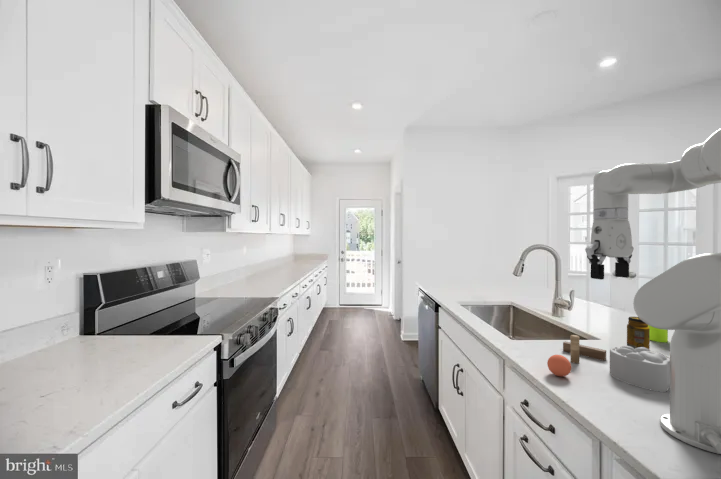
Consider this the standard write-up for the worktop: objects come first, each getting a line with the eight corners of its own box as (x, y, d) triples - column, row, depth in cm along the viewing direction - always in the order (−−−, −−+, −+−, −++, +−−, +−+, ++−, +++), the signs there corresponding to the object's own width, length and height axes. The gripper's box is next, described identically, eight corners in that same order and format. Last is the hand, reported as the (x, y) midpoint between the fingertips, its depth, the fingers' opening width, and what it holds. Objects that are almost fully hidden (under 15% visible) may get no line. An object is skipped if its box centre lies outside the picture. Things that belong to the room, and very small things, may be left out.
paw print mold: (664, 394, 81) (664, 361, 81) (603, 376, 92) (603, 346, 91) (674, 383, 87) (674, 352, 87) (616, 367, 97) (616, 340, 97)
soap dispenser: (642, 339, 124) (642, 289, 124) (651, 336, 127) (651, 287, 127) (661, 343, 119) (661, 291, 118) (670, 341, 121) (670, 289, 121)
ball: (573, 381, 88) (573, 360, 88) (548, 377, 90) (548, 357, 90) (569, 373, 93) (569, 353, 93) (546, 369, 96) (546, 350, 96)
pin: (580, 364, 100) (580, 337, 100) (571, 362, 101) (571, 336, 101) (578, 361, 102) (578, 335, 102) (569, 360, 103) (569, 334, 103)
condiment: (654, 352, 110) (654, 318, 110) (646, 358, 105) (646, 322, 105) (627, 346, 116) (627, 314, 116) (619, 351, 111) (619, 317, 111)
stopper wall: (604, 360, 103) (604, 351, 103) (563, 350, 112) (563, 342, 112) (606, 359, 104) (606, 350, 104) (564, 349, 113) (564, 341, 113)
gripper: (602, 214, 79) (602, 281, 80) (647, 215, 85) (646, 278, 85) (574, 216, 86) (573, 277, 87) (617, 217, 92) (616, 274, 92)
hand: (609, 277), depth 86 cm, fingers open, 9 cm apart
